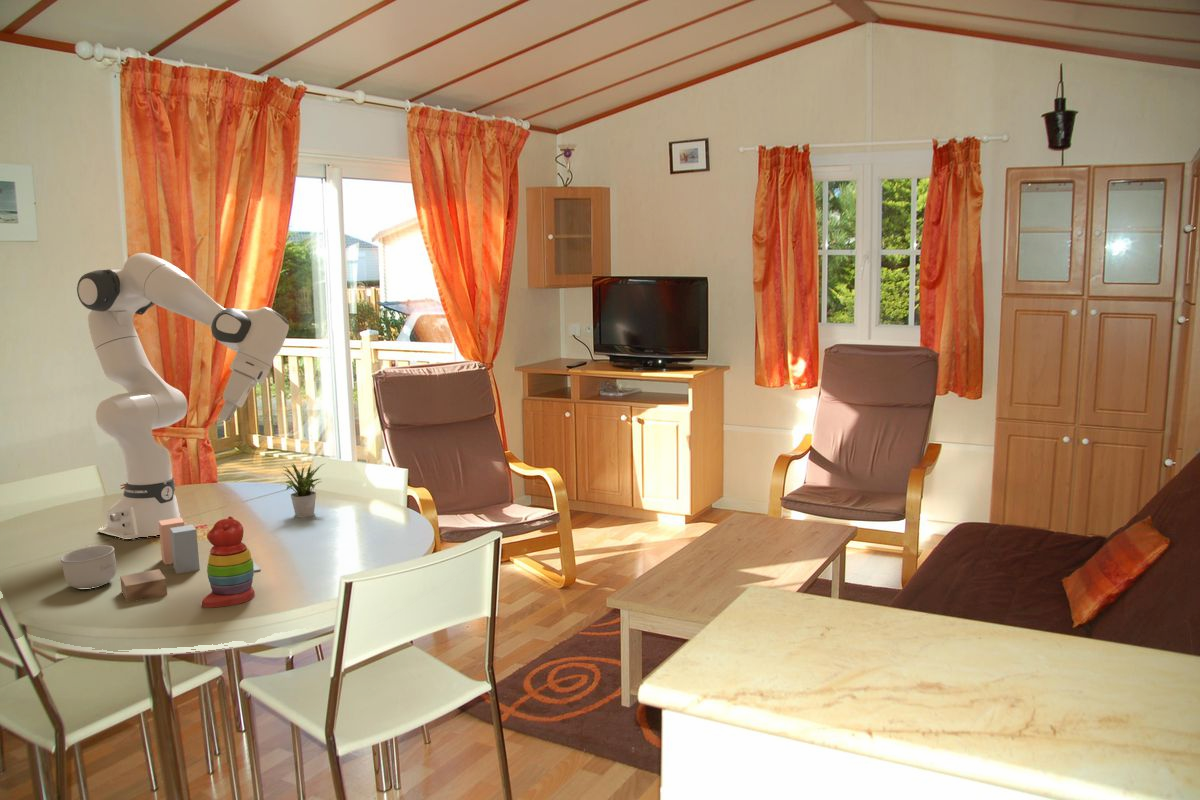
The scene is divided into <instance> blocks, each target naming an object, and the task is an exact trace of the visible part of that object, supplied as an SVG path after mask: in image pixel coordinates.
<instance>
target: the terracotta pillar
mask: <svg viewBox="0 0 1200 800" xmlns="http://www.w3.org/2000/svg"><path fill="white" fill-rule="evenodd" d="M181 518H182V517H180V518H174V519H167V520H161V521H158V522H159V533H160V536H159V541H160V542H159V543H160V551H161V552H160V553H161V554H160V555H161V561H162V560H163V561H162V563H163V564H164V563H165V564H169V565H172V564H171V563H173V555H172V544H171V533H170V528H174V527H180V526H185V522H184V519H183V518H182V519H183V520H182V519H181ZM165 564H164V565H165Z"/></svg>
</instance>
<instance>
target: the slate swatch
mask: <svg viewBox="0 0 1200 800" xmlns="http://www.w3.org/2000/svg"><path fill="white" fill-rule="evenodd" d="M253 565H254V567H253V568H254V573H257V572H261V568H260V567H259V566H258V564H256V563H255V562H253Z"/></svg>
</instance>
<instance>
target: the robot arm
mask: <svg viewBox="0 0 1200 800" xmlns="http://www.w3.org/2000/svg"><path fill="white" fill-rule="evenodd" d="M76 292H77V297H78V300H79V302H80V303H81V305H82V306H84V307H85V309H87V310H90V312H89V314H88V316H87V322H88V329H89V333H90V338H91V341H92V344H93V347H94V349H95V352H96V355H97V358H98V360H99V362H100V365H101V368H102V371H103V373H104V375H105V376H106V378H107V379H109V380H110V381H112V382H115V383H117V384H119V385H120V386H121V387H122V388H124V389H125V390H126V391H127V392H125V393H118V394H115V395H112V396H109V397H108V398H106V399H104V400H102V401H100V403H99V404H98V406H97V408H96V411H95V418H96V419H95V420H96V422H97V425H98V426H99V428H100V430H101V431H102V432H104V433H105V434H107V435H109V436H110V437H111V438H113V439H114V440H115V442H116V443H117V445H118V446H119V449H120V450H121V452H122V453H121V454H122V455H123V459H124V465H125V472H126V483H122V484H120V490H123V496H122V497H120V499H119V500H117V501H116V502H115V503H114V504H113V505H112V506H111V507H110V508H109V509H108V510H107V513H106V524H105V525H103V526H107V527H104V528H103V526H101V527H102V528H101V527H99V528H98V529H97V531H98V530H101V531H104V532H107V533H110V534H114V535H117V536H120V537H123V538H138V537H147V538H149V537H148V536H153V535H160V533H159V522H158V521H161V520H167V519H174V518H181V519H182V520H183V521H184V519H183V518H182V517H181V514H180V508H179V505H178V500H177V496H176V494H175V491H176V488H175V487H176V486H175V485H176V483H175V479H174V477H173V475H172V463H171V462H172V461H171V453H170V451H169V449H168V448H167V447H165V446H164V445H161V444H160V443H157V441H156V439H155V437H154V435H153V430H156V429H160V428H166V427H171V426H172V425H173V424H177V423H178V422H180V421H182V420H183V419H185V417H186V415H187V413H188V410H189V409H188V407H189V406H188V405H189V404H188V400H187V398H186V396H185V395H184V393H183V392H182V391H181V390H179V388H178V389H177V388H176V387H174V386H172V385H170V384H169V383H167V382H166V381H165V380H164V379H163V378H162V377H161V376H160V374H158V372H157V371H156V370H155V369H154V367H153V366H152V364H151V362H150V361H149V359H148V356H147V355H146V352H145V350H144V347H143V344H142V343H141V340H140V337H139V334H138V333H137V330H136V328H135V325H134V316H135V314H136V315H142V316H143V315H144V314H145V313H147V311H148V309H150V308H151V307H154V305H156V306H158V307H160V308H162V309H165V310H167V311H169V312H173V313H175V314H178V315H181V316H183V317H186V318H189V319H191V320H194V321H197V322H198V323H201V324H203V325H205V326H208V327H209V328H210V329H211V330H210V331H211V335H212V337H214V339H215V340H216V341H217V342H218V343H220V344H221V345H223V346H225V347H227V348H228V349H231V350H232V351H233V352H235V353H236V354H235V355H234V357H233V360H232V361H231V363H230V365H229V370H231V371H232V372H230V376H229V379H228V381H227V383H226V386H225V389H224V391H223V394H222V399H223V400H225V401H224V403H223V406H222V409H221V411H220V413H219V415H218V419H219V420H221V421H224V422H226V423H228V422H230V421H231V420H232V417H233V415H234V414H235V412H237V410H238V408H242V407H243V406H244V404H245V403H246V401H247V398H248V396H249V395H250V392H251V391H252V388H256V387H257V385H258V383H259V384H264V382H265V380H266V378H267V377H268V375H269V373H270V370H271V369H272V367H273V363H274V359H275V358H276V356H277V355H278V354H279V352H280V351H281V349H282V347H283V345H284V342H285V340H286V338H287V335H288V333H289V328H290V322H289V321H288V319H287V318H286V317H284V316H282V315H281V314H280V313H278V311H275V310H274V309H273V308H271V307H268V306H263V307H260V308H258V309H257V308H256V309H239V308H238V309H237V308H234V307H229V308H224V306H221V305H220V304H219V303H218V302H216V301H215V300H214V299H213V298H212V297H211V296H210V295H209V294H208V293H206V291H205V290H204V289H203V288H201V287H200V286H199V285H198V283H196V282H195V280H193V278H191V277H190V276H189V275H188V274H186V272H184V271H183V270H181V269H180V268H179V267H177V266H175V265H174V264H173V263H170V262H168V261H167V260H165V259H163V258H160V257H157V256H156V255H152V254H150V253H147V252H138V253H135V254H132V255H131V256H130V257H129V258H127V260H126V261H125V263H124V264H123V267H122V268H115V269H98V270H97V269H96V270H92V271H90V272H86V273H84V274H83V275H81V277H80V278H79V279H78V282H77V287H76ZM138 539H139V538H138Z"/></svg>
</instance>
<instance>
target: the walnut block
mask: <svg viewBox="0 0 1200 800" xmlns="http://www.w3.org/2000/svg"><path fill="white" fill-rule="evenodd" d="M120 586H121V587H120V588H121V593H122V592H123V594H124V596H125V597H124V596H123V597H124V599H125V601H126V603H127V602H128V603H131V601H133V602H137V601H136V600H138V601H141V599H143V600H146V599H147V598H148V599H152V597H153V598H157V596H158V597H161V596H162V595H163V596H167V595H168V588H167V578H166V577H165V575H164V574H163V573H162V570H161V569H160V568H158V569H157V568H156V569H151V570H146V571H143V572H136V573H135V572H134V573H131V574H126V575H120ZM123 594H122V595H123ZM163 596H162V597H163Z"/></svg>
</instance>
